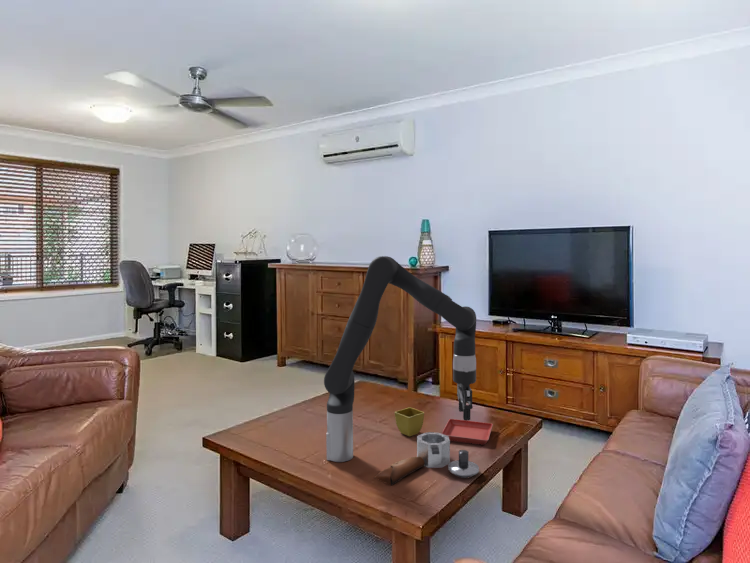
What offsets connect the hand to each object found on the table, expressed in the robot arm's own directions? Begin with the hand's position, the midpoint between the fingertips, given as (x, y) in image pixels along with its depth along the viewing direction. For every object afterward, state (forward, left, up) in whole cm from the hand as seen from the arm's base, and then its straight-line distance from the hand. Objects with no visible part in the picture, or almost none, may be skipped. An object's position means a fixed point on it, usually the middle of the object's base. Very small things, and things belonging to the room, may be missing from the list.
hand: (464, 415), depth 166 cm
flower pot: (-16, +33, -19) cm, 42 cm away
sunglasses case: (-22, -1, -20) cm, 29 cm away
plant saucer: (+7, +31, -20) cm, 38 cm away
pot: (-9, +8, -19) cm, 23 cm away
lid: (0, -2, -19) cm, 19 cm away
